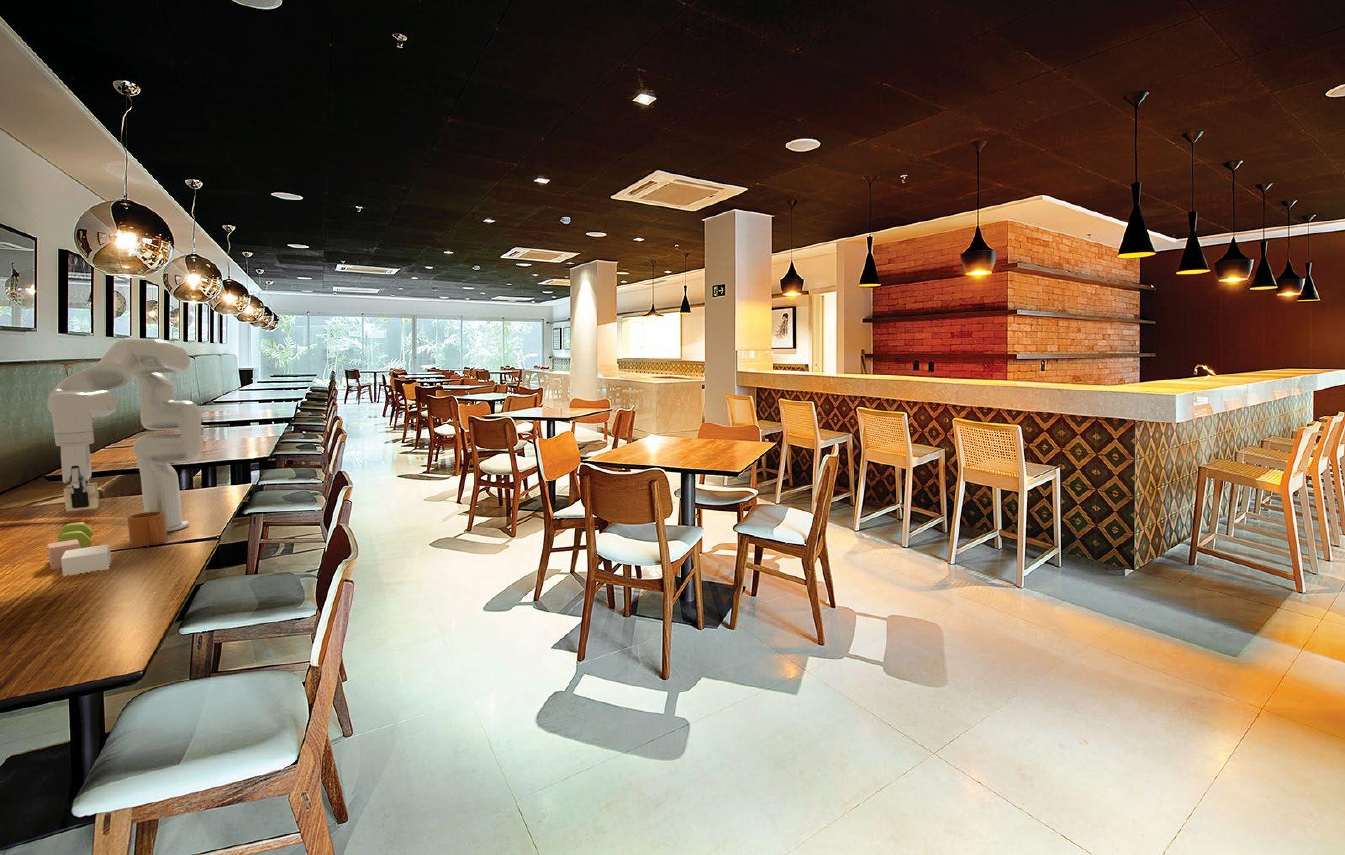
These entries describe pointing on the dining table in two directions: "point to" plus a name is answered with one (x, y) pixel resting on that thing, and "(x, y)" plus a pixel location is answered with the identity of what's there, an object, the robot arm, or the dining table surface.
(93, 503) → the maple cube
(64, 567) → the base block
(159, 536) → the mug
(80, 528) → the dumbbell
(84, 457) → the robot arm
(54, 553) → the pink cube
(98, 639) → the dining table surface
